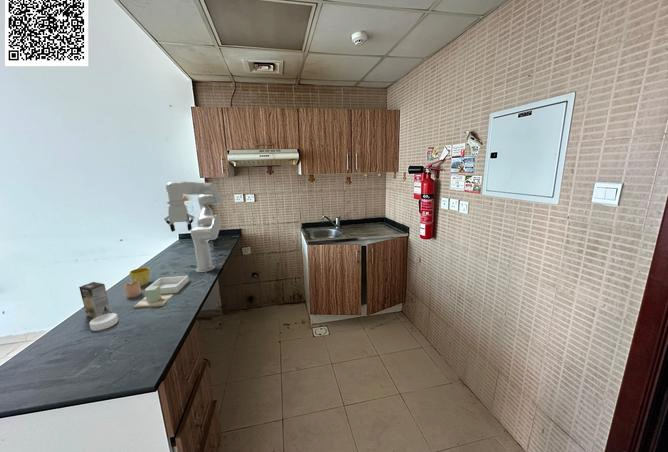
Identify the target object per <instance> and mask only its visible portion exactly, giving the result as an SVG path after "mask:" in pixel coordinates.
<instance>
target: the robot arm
mask: <svg viewBox="0 0 668 452" xmlns="http://www.w3.org/2000/svg"><path fill="white" fill-rule="evenodd" d="M165 189H166V192H167V196H168V201H167V203H166V204H167V205H169V206H168V208H167V209H168V216H166V217H164V218H163V220H164V221H165V222H166V224H168V226H169V227H170V231H171V232H172V233H173V232H175V231H176V227H175V224H174V223H186V226H187V230H188V231H190V236H191V239H192V241H193V246H194V251H195V258H196V265H197V267H196V268H195V271H196V272H197V273H205V272H206V273H207V272H209V271H212V270H214V269H215V268H216V266H215V265H214V264H213V263H212V262H213V259H212V255H211V248H210V244H209V242H208V241H211V240H216V239H217V238H218V236H219V233H220V229H221V226H222V218H221V216H220V215H218V214H214V210H213V208H211V207H210V206H212V205H216V206H217V205H220V204H222V203H223V197H222V194H221V193H220V191H219V189H218V187H217V185H216V184H214V183H213V182H197V181H196V182H195V181H170V182H167V184H165ZM184 195H187V196H188V195H189V196H190V195H192V196H193V195H194V196H197V195H199V196H198V197H197V201H198V204H199V207H200V212H199V213H200V214H199V216H198V219H197V221H196V222H197V223H196V224H197V226H196V227H193V228H192V224H193V222H194V220H195V216H194V215H193V214H189V211H188V208H187V205H186V204H185V200H184Z"/></svg>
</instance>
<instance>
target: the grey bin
mask: <svg viewBox="0 0 668 452" xmlns="http://www.w3.org/2000/svg"><path fill="white" fill-rule="evenodd" d="M189 279H190V278H189V275H180V276H179V275H178V276H168V277H167V276H166V277H159V278H157V280H155V281H154V282H153V283H151V284H150V285H149V286H147V287H146V288H145V289H144V291H145V290H146V289H147V288H149V287H152V286H159V287H160V292H161V295H166V294H178V292H179V291H181V289H182V288H183V287H185V286H186V285H187V284H188V283H189V281H190V280H189Z"/></svg>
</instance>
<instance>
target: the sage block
mask: <svg viewBox="0 0 668 452" xmlns="http://www.w3.org/2000/svg"><path fill="white" fill-rule="evenodd" d="M148 287H149V286H148ZM146 288H147V287H146ZM146 288H145V289H146ZM145 289H144V295H145V296H144V297H146V300H147V303H148V302H157V301H158V300H159V299H160V298H161V295H162V294H161V292H160V287H159V286H152V287H149V288H147V289H146V290H145Z"/></svg>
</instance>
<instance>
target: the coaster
mask: <svg viewBox="0 0 668 452" xmlns="http://www.w3.org/2000/svg"><path fill="white" fill-rule="evenodd" d="M118 321H119V319H118V314H117V313H114V312H112V313H108V314H104V315H101V316H98V317H96V318H92V319H91V320H90V321H89V328H90V330H91V331H93V332H95V331H102V330H106V329H108V328H111V327H112V326H114V325H116V324H117V323H118Z"/></svg>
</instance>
